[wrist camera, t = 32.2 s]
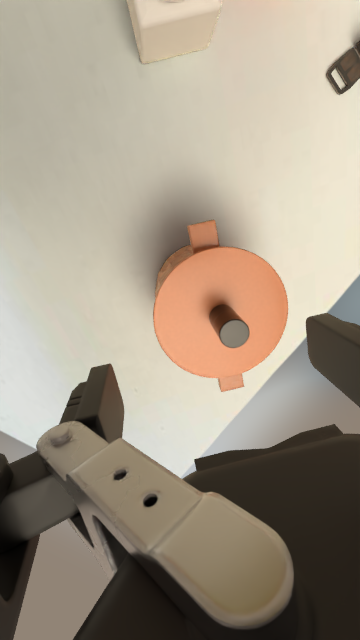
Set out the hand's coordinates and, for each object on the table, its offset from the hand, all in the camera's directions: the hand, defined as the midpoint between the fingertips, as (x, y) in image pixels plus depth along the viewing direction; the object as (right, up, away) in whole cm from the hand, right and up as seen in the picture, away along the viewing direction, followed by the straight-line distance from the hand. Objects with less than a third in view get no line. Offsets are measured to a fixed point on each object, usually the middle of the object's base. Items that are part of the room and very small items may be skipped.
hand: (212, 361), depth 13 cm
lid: (+2, +2, +17) cm, 17 cm away
